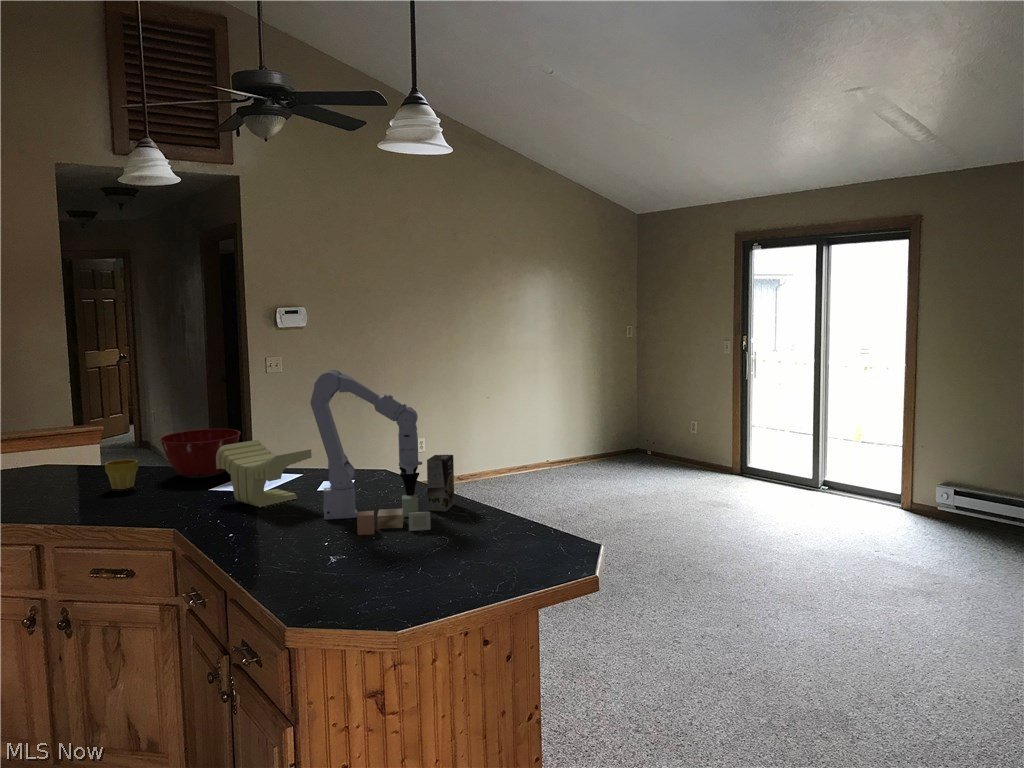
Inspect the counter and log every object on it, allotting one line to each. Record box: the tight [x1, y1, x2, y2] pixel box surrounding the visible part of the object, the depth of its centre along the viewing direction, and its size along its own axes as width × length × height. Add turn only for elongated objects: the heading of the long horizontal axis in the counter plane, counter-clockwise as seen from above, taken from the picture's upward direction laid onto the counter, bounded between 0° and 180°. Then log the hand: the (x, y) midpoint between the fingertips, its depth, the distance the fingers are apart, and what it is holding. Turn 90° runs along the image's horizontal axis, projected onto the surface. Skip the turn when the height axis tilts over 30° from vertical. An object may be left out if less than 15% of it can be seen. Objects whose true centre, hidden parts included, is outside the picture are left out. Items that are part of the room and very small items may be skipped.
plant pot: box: [104, 459, 139, 490], centre depth 278 cm, size 10×10×10 cm
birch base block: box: [376, 508, 404, 530], centre depth 230 cm, size 7×7×4 cm
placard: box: [408, 511, 432, 532], centre depth 224 cm, size 6×1×5 cm, turn 100°
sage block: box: [401, 494, 419, 518], centre depth 241 cm, size 5×5×6 cm
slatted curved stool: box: [216, 439, 312, 508], centre depth 258 cm, size 30×16×18 cm, turn 50°
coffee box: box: [426, 454, 455, 512], centre depth 248 cm, size 9×6×16 cm
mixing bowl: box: [159, 428, 241, 477], centre depth 299 cm, size 28×28×16 cm
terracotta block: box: [356, 510, 375, 536], centre depth 223 cm, size 5×5×6 cm
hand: (409, 492), depth 240 cm, fingers open, 7 cm apart
